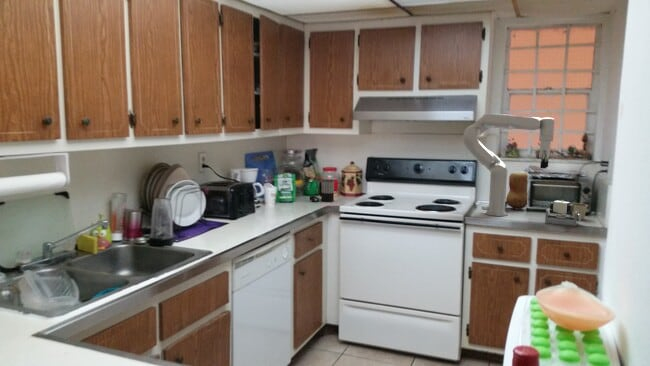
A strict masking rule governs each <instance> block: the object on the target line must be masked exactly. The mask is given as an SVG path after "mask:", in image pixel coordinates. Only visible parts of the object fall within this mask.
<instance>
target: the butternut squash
mask: <svg viewBox="0 0 650 366" xmlns="http://www.w3.org/2000/svg"><path fill="white" fill-rule="evenodd" d="M508 179H509V180H508V186H509V187H508V188H509V190H508V193H507V194H506V200H505V202H506V203H507V205H508V207H510V208H511V209H514V210H522V209H524V208H526V206H527V205H528V203H527V195H528V196H529V194H528V183H529V181H528V173H526V172H525V171H523V170H521V171H513V172H511V173H510V174H509V178H508Z"/></svg>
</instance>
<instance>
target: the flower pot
mask: <svg viewBox="0 0 650 366" xmlns="http://www.w3.org/2000/svg"><path fill="white" fill-rule="evenodd" d="M572 205H573V206H574V210H573V212H571V214H572V217H574V214H575V211H578V214H581V220H584V219H585V218H586V216H585V215H586V213H587V208H588V207H589V205H588V204H586V203H579V202H573V203H572Z"/></svg>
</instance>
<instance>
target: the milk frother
mask: <svg viewBox="0 0 650 366" xmlns="http://www.w3.org/2000/svg"><path fill="white" fill-rule="evenodd" d="M318 186H319V187H318V189H319V190H318V191H319V192H318V193H319V196H320V198H319V197H318V196H315V195H311V196H309V201H312V202H315V203H317V202H319V201H321V202H322V203H324V202H325V203H332V202H335V200H334V194H335V193H334V192H335V191H334V190H335V179H321V181H320V182H319V185H318Z"/></svg>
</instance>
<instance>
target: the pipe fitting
mask: <svg viewBox="0 0 650 366" xmlns="http://www.w3.org/2000/svg"><path fill="white" fill-rule="evenodd" d="M550 211H551V209H550V207H548V208H547V209H546V210H545V220H544V223H545V224H554V225H562V226H563V225H564V226H565V225H566V226H573V227H577V224H578V222H581V221H582V219H581V214H578V211H575V214H574V217H573V216H566V219H558V218H556V215H552V214H551V212H550Z"/></svg>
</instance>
